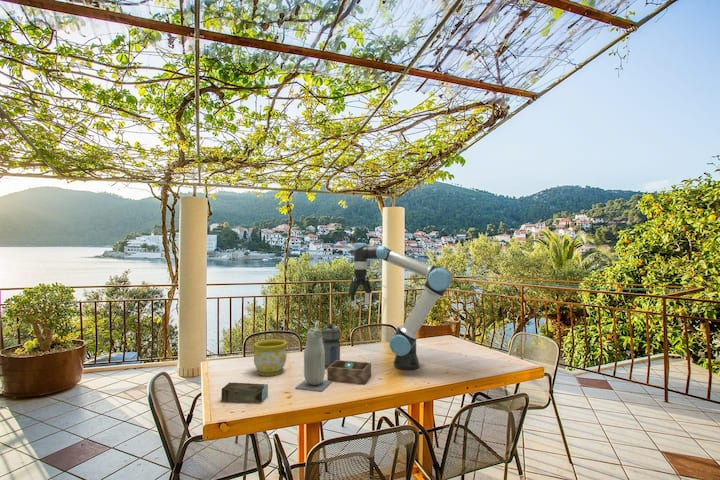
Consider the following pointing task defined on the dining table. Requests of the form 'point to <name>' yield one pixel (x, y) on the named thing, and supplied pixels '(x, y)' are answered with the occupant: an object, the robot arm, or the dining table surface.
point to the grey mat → (314, 386)
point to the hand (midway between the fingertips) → (360, 305)
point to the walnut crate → (349, 372)
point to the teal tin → (349, 365)
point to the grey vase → (314, 357)
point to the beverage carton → (244, 392)
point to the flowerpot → (270, 356)
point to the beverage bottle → (331, 344)
